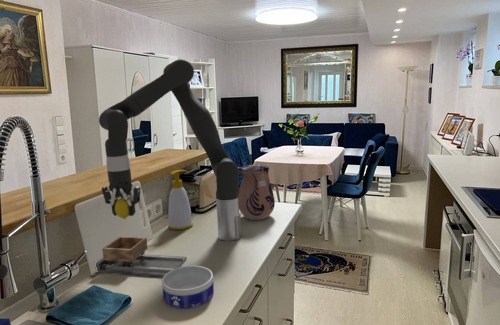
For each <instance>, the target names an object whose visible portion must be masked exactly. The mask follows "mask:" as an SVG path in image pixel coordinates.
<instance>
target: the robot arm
mask: <svg viewBox="0 0 500 325" xmlns="http://www.w3.org/2000/svg"><path fill="white" fill-rule="evenodd" d="M194 74H195V69H194V66H193V64H192V63H191V62H189V61H188V60H186V59H182V58H181V59H175V60H173V61H172V62H171V63H169V64H166V66H165V67H164V68H163V74H162V75H160V76H159V77H157V78H156V79H154V80H152V81H150V82H149V83H147V84H146V85H144V86H142V87H141V88H139V89H137V90H135V91H134V92H133V93H131V94H130V95H128V96H127V97H126V98H124V99H123V100H121V101H120V102H116V104H114V105H112V106H110V107H108V108H107V109H105V110H103V111H102V112H101V114H100V115H99V117H98V123H99V126H100V128H102V129H104V130H105V131H107V136H108V137H107V139H106V140H105V143H104V146H105V156H106V157H105V158H106V171H107V179H108V183H109V184H108V185H104V186H103V187H101V192H102V195H103V199H104V202H105V204H109V205H110V206H111V212H112V215H113V216H116V217H117V216H118V215H117V214H116V212H115V204H116V202H117V200H119V199H120V198H121V197H123V198H124V199H125V200H126V201H127V203H128V205H129V206H128V207H129V217H133V216H134V215H135V214H136V204H138V203H140V201H141V190H142V189H141V186H140V185H138V186H137V185H136V186H135V185H133V184H132V172H131V162H130V158H129V151H128V143H127V140H128V135H129V134H128V133H129V122H128V120H129V119H131V118H135V117H138V116H140V115H141V114H142V113H144V112H145V111H146V110H148V109H149V108H151V106H153V105H154V104H155V103H156V102H158V101H159V100H161V99H162V98H163V97H164V96H165V95H167V94H168V93H170V92H172V95H173V96H174V98H175V99H176V101H177V102H178V104H179V106H180V108H181V110H182V112H183V114H184V116H185V118H186V120H187V122H188V124H189V126H190V128H191V130H192V132H193V134H194V136H195V138H196V139H197V141H198V143H199V144H200V145H201V147H202V149H203V150H204V152H205V154H206V156H207V158H208V160H209V162H210V166H211V168H212V172H213V174H214V176H215V177H216V178H215V180H216V181H215V182H216V192H215V201H216V203H215V204H216V218H217V233H218V234H217V235H218V239H219V240H221V241H227V242H228V241H235V240H239V239H240V237H241V236H242V234H243V233H242V217H241V215H242V213H241V212H240V210H239V199H238V192H239V188H240V172H239V171H238V167H239V166H238V164H236V163H235V162H234V161H233V160H232V159H231V158H230V157H229V155H228V154H227V152H226V150H225V148H224V147H223V145H222V142H221V138H220V133H219V131H218V127H217V126H216V122H215V121H214V118H213V116H212V114H211V113H210V111H209V109H208V108H207V107H206V106H205V105H204V103H202V102H201V101H200V100H199V99H198V97H196V96H195V94H194V93H193V91H192V89H191V88H190V85H189V82H191V81H192V80H193V78H194Z"/></svg>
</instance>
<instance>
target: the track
mask: <svg viewBox="0 0 500 325" xmlns="http://www.w3.org/2000/svg"><path fill="white" fill-rule="evenodd" d="M102 258H103V257H102ZM102 258H100V259H99V260H100V261H99V260H98V261H97V263H96V262H95V263H96V267H97V271H98V273H99V274H110V275H112V274H113V275H125V276H141V277H152V278H163V277H164V275H165V274H166V273H168V272H169V271H171V270H173V269H176V268H179V267H182V265H183V264H185V262H186V261H187V256H177V255H162V254H161V255H159V254H157V255H156V254H145V253H144V254H143V255H140V256H139V257H137V258H136V259H135V260H134V261H133V262H132V265H130V266H127V265H126V264H125V263H126V262H125V261H114V263H113V264H112V265H109V264H108V263H107V261H108V260H104V258H103V259H102ZM96 267H95V268H96Z"/></svg>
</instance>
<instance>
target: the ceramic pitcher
mask: <svg viewBox="0 0 500 325" xmlns="http://www.w3.org/2000/svg"><path fill="white" fill-rule="evenodd" d="M237 167H238V171H239V173H241V175H242V181H241V183H240V185H239V192H238V199H239V213H241V215H242V216H243V217H245V219H248V220H252V221H261V220H265V219H267V218H268V217H270V215H271V214H272V213H273V211H274V209H275V195H274V190H273V187H272V184H271V181H270V177H269V171H270V167H269V166H266V165H262V164H259V163H258V164H248V165H244V166H237Z"/></svg>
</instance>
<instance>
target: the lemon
mask: <svg viewBox="0 0 500 325" xmlns="http://www.w3.org/2000/svg"><path fill="white" fill-rule="evenodd" d="M128 206H129V205H128V203H127V201H126V200H125V199H124V197H119V198H118V200H117V202H116V204H115V212H116V214H117V215H116V216H117V217H119V218H121V219H123V220H126V219H127V218H128V217H130V215H129V207H128Z"/></svg>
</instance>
